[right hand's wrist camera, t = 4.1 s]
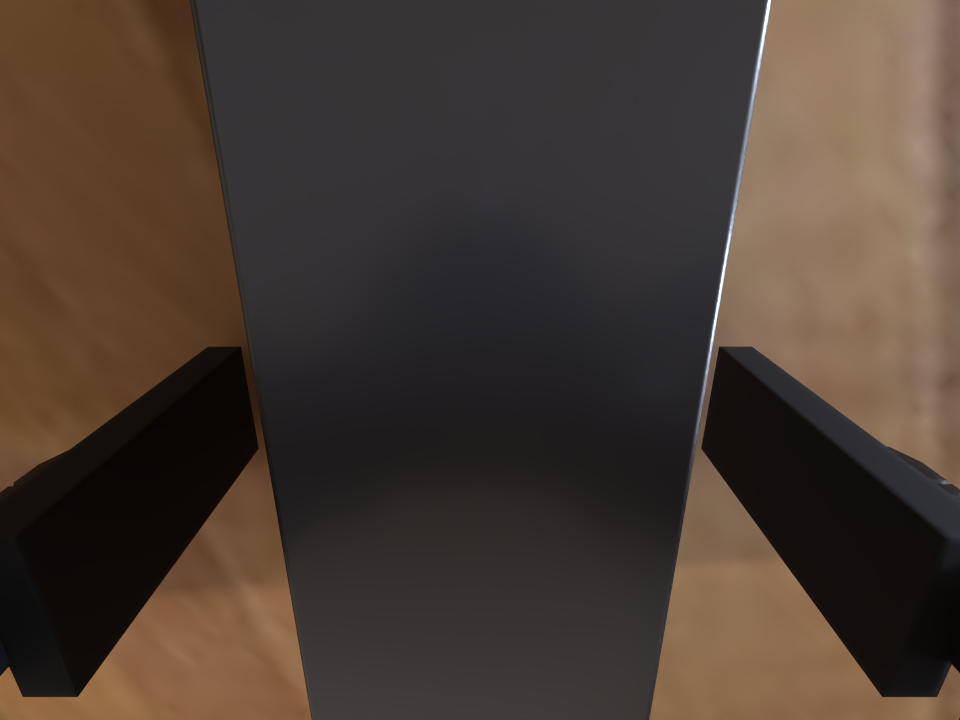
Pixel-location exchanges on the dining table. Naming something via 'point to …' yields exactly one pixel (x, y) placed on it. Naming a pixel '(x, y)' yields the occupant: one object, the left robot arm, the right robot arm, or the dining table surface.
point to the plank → (480, 328)
